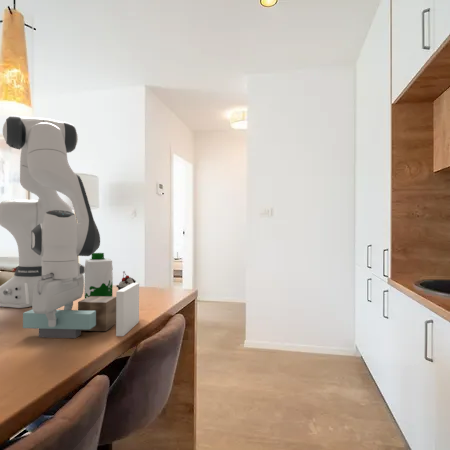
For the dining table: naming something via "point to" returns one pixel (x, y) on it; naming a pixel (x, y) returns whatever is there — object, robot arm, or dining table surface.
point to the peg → (61, 319)
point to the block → (100, 311)
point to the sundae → (125, 282)
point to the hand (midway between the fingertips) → (59, 322)
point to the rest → (59, 333)
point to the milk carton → (98, 276)
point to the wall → (127, 308)
